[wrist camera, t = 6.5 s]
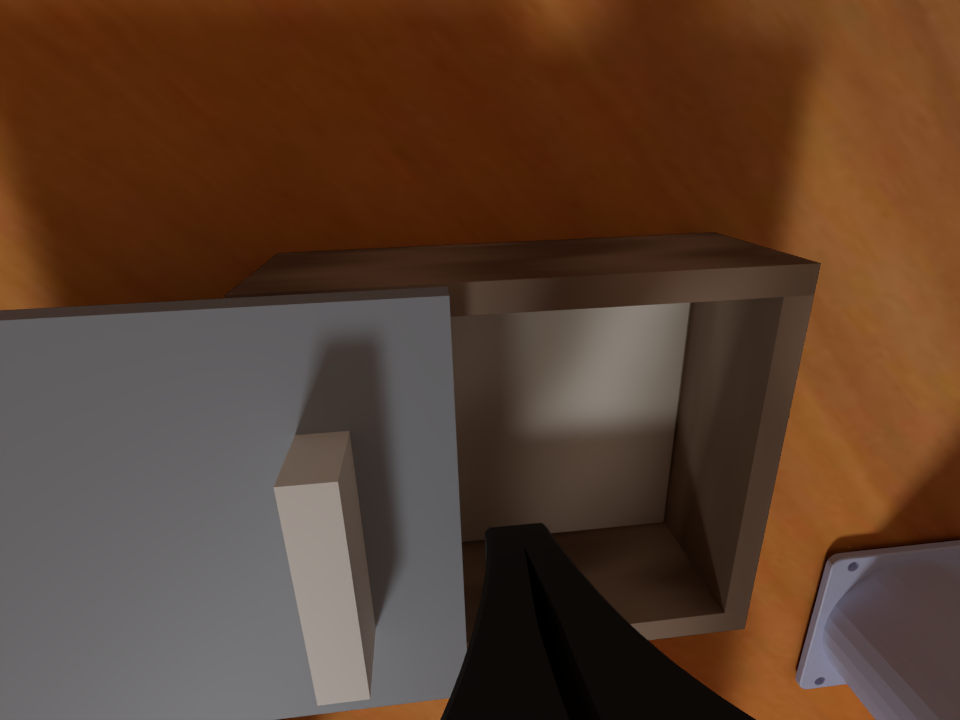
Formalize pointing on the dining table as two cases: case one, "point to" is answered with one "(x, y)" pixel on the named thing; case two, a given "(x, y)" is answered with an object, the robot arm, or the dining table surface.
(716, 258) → the box
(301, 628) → the lid
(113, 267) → the dining table surface
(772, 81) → the dining table surface
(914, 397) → the dining table surface
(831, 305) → the dining table surface
